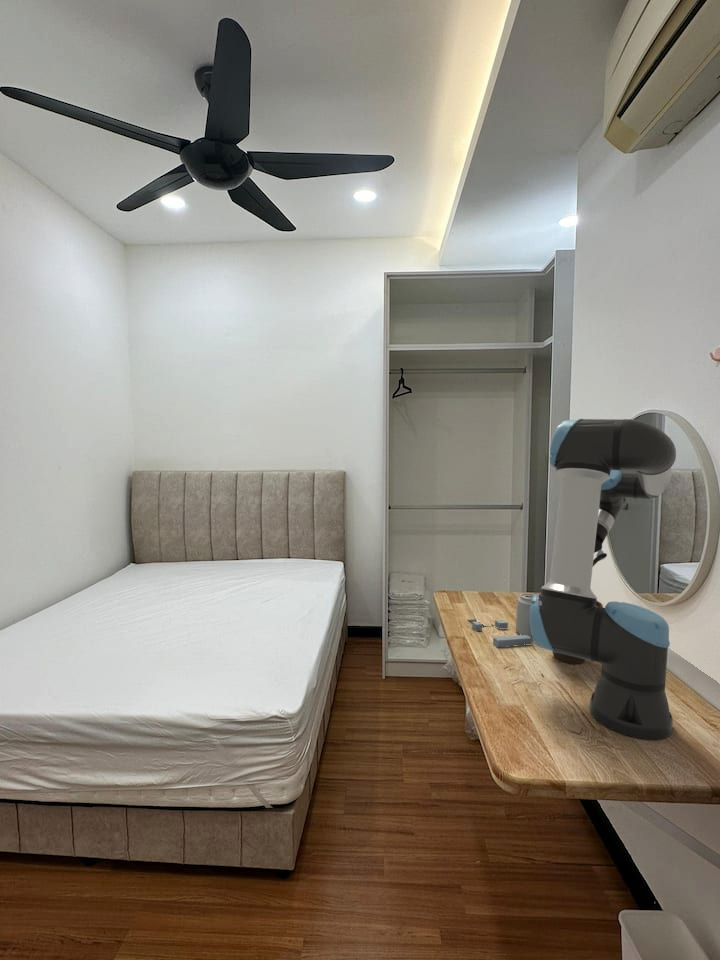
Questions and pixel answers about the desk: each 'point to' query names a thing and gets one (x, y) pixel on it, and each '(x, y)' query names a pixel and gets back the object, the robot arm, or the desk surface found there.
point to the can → (524, 614)
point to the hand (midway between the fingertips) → (560, 588)
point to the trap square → (474, 621)
